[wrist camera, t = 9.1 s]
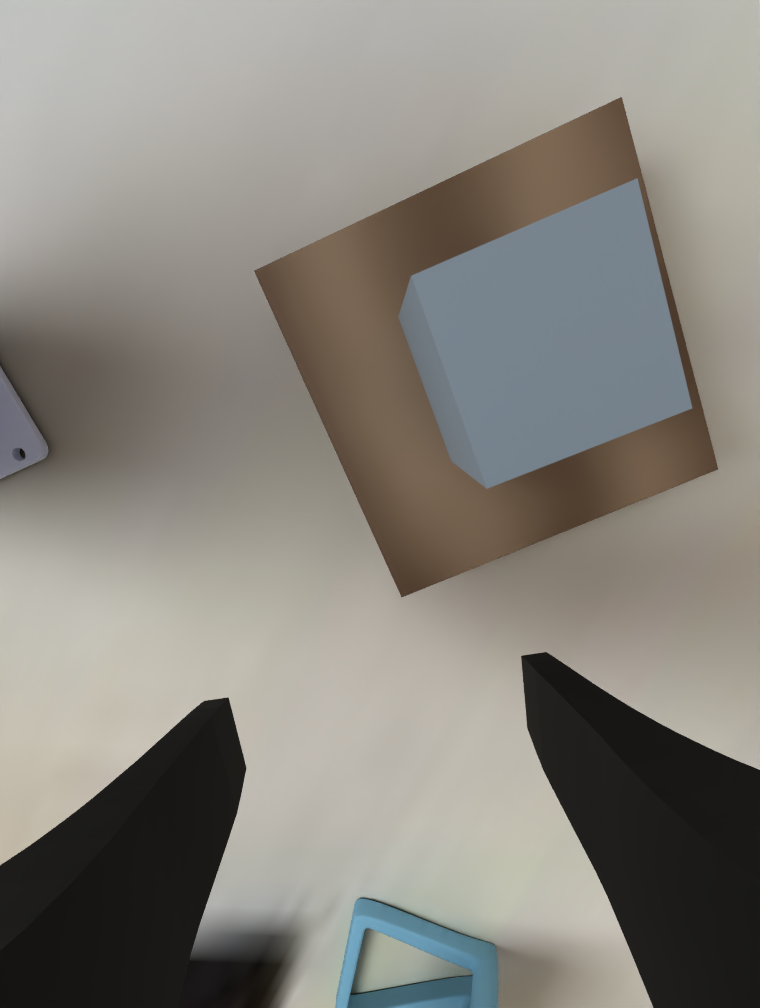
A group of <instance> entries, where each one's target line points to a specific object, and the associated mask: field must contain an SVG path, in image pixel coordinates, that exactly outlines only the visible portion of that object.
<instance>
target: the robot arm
mask: <svg viewBox="0 0 760 1008" xmlns="http://www.w3.org/2000/svg"><path fill="white" fill-rule="evenodd" d="M20 449H23V450H24V451H25V454H26V456H25V459H23V458H22V457H21V456H20V453H19V452H20ZM47 455H48V446H47V443H46V442H45V440H44V438H43V437H42V435H41V433H40V432H39V430H38V428H37V427H36V425H35V423H34V422H33V420H32V418H31V417H30V415H29V413H28V412H27V410H26V408H25V407H24V405H23V403H22V402H21V400H20V398H19V397H18V395H17V393H16V392H15V390H14V388H13V387H12V385H11V383H10V382H9V380H8V378H7V377H6V375H5V373H4V372H3V370H2V368H1V367H0V479H2V478H4V477H6V476H8V475H11V474H13V473H15V472H17V471H19V470H21V469H24V468H26V467H28V466H30V465H32V464H34V463H37V462H39V461H41V460H43V459H44V458H46V457H47ZM521 658H522V670H523V682H524V693H525V705H526V717H527V728H528V731H529V734H530V736H531V739H532V742H533V744H534V747H535V750H536V752H537V755H538V758H539V760H540V763H541V765H542V768H543V770H544V772H545V774H546V776H547V778H548V780H549V782H550V784H551V786H552V788H553V790H554V792H555V794H556V796H557V798H558V800H559V802H560V804H561V806H562V807H563V809H564V811H565V813H566V815H567V817H568V819H569V821H570V823H571V825H572V827H573V829H574V831H575V833H576V834H577V836H578V838H579V840H580V842H581V844H582V846H583V848H584V850H585V852H586V854H587V856H588V858H589V859H590V861H591V863H592V865H593V867H594V869H595V871H596V873H597V875H598V877H599V879H600V882H601V884H602V886H603V888H604V890H605V892H606V894H607V896H608V899H609V901H610V903H611V906H612V908H613V910H614V913H615V915H616V918H617V920H618V922H619V925H620V927H621V930H622V932H623V934H624V937H625V939H626V941H627V944H628V946H629V949H630V951H631V953H632V956H633V958H634V961H635V963H636V966H637V968H638V971H639V973H640V975H641V978H642V980H643V983H644V985H645V988H646V990H647V993H648V995H649V998H650V1000H651V1003H652V1005H653V1008H760V770H759V769H756V768H754V767H751V766H749V765H746V764H744V763H741V762H739V761H736V760H734V759H732V758H730V757H727V756H725V755H723V754H720V753H718V752H716V751H714V750H712V749H710V748H708V747H705V746H703V745H701V744H699V743H697V742H695V741H693V740H691V739H689V738H687V737H685V736H683V735H681V734H679V733H677V732H675V731H673V730H671V729H669V728H667V727H665V726H663V725H661V724H660V723H658V722H656V721H654V720H652V719H651V718H649V717H647V716H645V715H644V714H642V713H640V712H638V711H637V710H635V709H633V708H631V707H630V706H628V705H626V704H625V703H623V702H621V701H620V700H618V699H617V698H615V697H613V696H612V695H610V694H609V693H607V692H605V691H604V690H602V689H601V688H599V687H598V686H596V685H595V684H593V683H592V682H590V681H589V680H587V679H586V678H584V677H583V676H581V675H580V674H578V673H577V672H575V671H574V670H572V669H571V668H569V667H568V666H566V665H565V664H563V663H562V662H561V661H559V660H558V659H556V658H555V657H553V656H552V655H550V654H548V653H547V652H544V653H537V654H530V655H523V656H521ZM245 772H246V765H245V761H244V757H243V753H242V749H241V745H240V741H239V737H238V733H237V729H236V725H235V721H234V717H233V713H232V709H231V706H230V702H229V698H222V699H215V700H208V701H204V702H202V703H201V704H200V705H199V706H197V707H196V708H195V709H194V710H193V711H191V712H190V713H189V714H188V715H187V716H186V717H185V718H183V719H182V720H181V721H180V722H179V723H178V724H177V725H176V726H175V727H174V728H172V729H171V730H170V731H169V732H168V733H167V734H166V735H165V736H164V737H163V738H161V739H160V740H159V741H158V742H157V743H156V744H155V745H154V746H153V747H152V748H150V749H149V750H148V751H147V752H146V753H145V754H144V755H143V756H142V757H140V758H139V759H138V760H137V761H136V762H135V763H134V764H133V765H131V766H130V767H129V768H128V769H127V770H126V771H124V772H123V773H122V774H121V775H120V776H118V777H117V778H116V779H115V780H114V781H112V782H111V783H110V784H109V785H108V786H107V787H105V788H104V789H103V790H102V791H101V792H99V793H98V794H97V795H96V796H95V797H94V798H92V799H91V800H90V801H89V802H87V803H86V804H85V805H84V806H82V807H81V808H80V809H79V810H77V811H76V812H75V813H73V814H72V815H71V816H70V817H68V818H67V819H66V820H64V821H63V822H62V823H60V824H59V825H57V826H56V827H55V828H53V829H52V830H51V831H49V832H48V833H47V834H45V835H44V836H43V837H41V838H40V839H38V840H37V841H36V842H34V843H33V844H31V845H30V846H29V847H27V848H26V849H24V850H23V851H21V852H20V853H18V854H17V855H15V856H14V857H12V858H11V859H9V860H8V861H6V862H5V863H3V864H2V865H0V1008H177V1006H178V1002H179V998H180V994H181V990H182V986H183V982H184V978H185V974H186V970H187V966H188V962H189V958H190V955H191V951H192V948H193V944H194V941H195V938H196V934H197V931H198V928H199V925H200V922H201V919H202V916H203V913H204V910H205V907H206V904H207V901H208V898H209V895H210V892H211V889H212V886H213V883H214V880H215V877H216V874H217V871H218V869H219V866H220V863H221V860H222V857H223V854H224V851H225V848H226V845H227V842H228V839H229V836H230V833H231V830H232V827H233V824H234V820H235V817H236V814H237V810H238V806H239V801H240V797H241V792H242V787H243V782H244V777H245Z"/></svg>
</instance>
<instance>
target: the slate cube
mask: <svg viewBox="0 0 760 1008" xmlns="http://www.w3.org/2000/svg"><path fill="white" fill-rule="evenodd" d="M398 318H399V321H400V323H401V326H402V329H403V332H404V334H405V337H406V340H407V342H408V345H409V348H410V351H411V353H412V356H413V359H414V361H415V364H416V367H417V370H418V372H419V375H420V378H421V380H422V383H423V386H424V389H425V391H426V394H427V397H428V400H429V402H430V405H431V408H432V410H433V413H434V416H435V419H436V421H437V424H438V427H439V429H440V432H441V435H442V438H443V440H444V443H445V446H446V448H447V451H448V454H449V457H450V459H451V461H452V462H453V463H454V464H456V465H457V466H458V467H459V468H461V469H462V470H463V471H465V472H466V473H467V474H468V475H470V476H471V477H472V478H473V479H475V480H476V481H477V482H479V483H480V484H481V485H482V486H484V487H485V488H486V489H488V488H490V487H493V486H495V485H498V484H500V483H503V482H505V481H508V480H511V479H513V478H516V477H518V476H521V475H523V474H526V473H528V472H531V471H534V470H536V469H539V468H541V467H544V466H546V465H549V464H551V463H554V462H557V461H559V460H562V459H564V458H567V457H569V456H572V455H574V454H577V453H580V452H582V451H585V450H587V449H590V448H592V447H595V446H597V445H600V444H603V443H605V442H608V441H610V440H613V439H615V438H618V437H620V436H623V435H626V434H628V433H631V432H633V431H636V430H638V429H641V428H643V427H646V426H648V425H651V424H654V423H656V422H659V421H661V420H664V419H666V418H669V417H671V416H674V415H677V414H679V413H682V412H684V411H687V410H689V409H692V404H691V400H690V396H689V392H688V388H687V383H686V379H685V375H684V371H683V367H682V362H681V358H680V354H679V350H678V346H677V342H676V337H675V333H674V329H673V325H672V321H671V316H670V312H669V308H668V304H667V300H666V295H665V291H664V287H663V283H662V279H661V275H660V270H659V266H658V262H657V258H656V254H655V249H654V245H653V241H652V237H651V233H650V229H649V224H648V220H647V216H646V212H645V208H644V203H643V199H642V195H641V191H640V187H639V182H638V178H637V179H634V180H632V181H630V182H627V183H625V184H623V185H620V186H618V187H616V188H613V189H611V190H609V191H606V192H604V193H602V194H599V195H597V196H595V197H592V198H590V199H588V200H586V201H583V202H581V203H579V204H576V205H574V206H572V207H569V208H567V209H565V210H562V211H560V212H558V213H555V214H553V215H551V216H548V217H546V218H544V219H541V220H539V221H537V222H535V223H532V224H530V225H528V226H525V227H523V228H521V229H518V230H516V231H514V232H511V233H509V234H507V235H504V236H502V237H500V238H497V239H495V240H493V241H491V242H488V243H486V244H484V245H481V246H479V247H477V248H474V249H472V250H470V251H467V252H465V253H463V254H460V255H458V256H456V257H453V258H451V259H449V260H446V261H444V262H442V263H440V264H437V265H435V266H433V267H430V268H428V269H426V270H423V271H421V272H419V273H416V274H414V275H412V276H411V278H410V281H409V284H408V287H407V290H406V294H405V297H404V300H403V303H402V307H401V310H400V313H399V316H398Z"/></svg>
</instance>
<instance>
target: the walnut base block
mask: <svg viewBox="0 0 760 1008" xmlns="http://www.w3.org/2000/svg"><path fill="white" fill-rule="evenodd" d="M637 178H638V182H639V187H640V191H641V195H642V199H643V203H644V208H645V212H646V216H647V220H648V224H649V229H650V233H651V237H652V241H653V245H654V249H655V254H656V258H657V262H658V266H659V270H660V275H661V279H662V283H663V287H664V291H665V295H666V300H667V304H668V308H669V312H670V316H671V321H672V325H673V329H674V333H675V337H676V342H677V346H678V350H679V354H680V358H681V362H682V367H683V371H684V375H685V379H686V383H687V388H688V392H689V396H690V400H691V404H692V409H689V410H687V411H684V412H682V413H679V414H677V415H674V416H671V417H669V418H666V419H664V420H661V421H659V422H656V423H654V424H651V425H648V426H646V427H643V428H641V429H638V430H636V431H633V432H631V433H628V434H626V435H623V436H620V437H618V438H615V439H613V440H610V441H608V442H605V443H603V444H600V445H597V446H595V447H592V448H590V449H587V450H585V451H582V452H580V453H577V454H574V455H572V456H569V457H567V458H564V459H562V460H559V461H557V462H554V463H551V464H549V465H546V466H544V467H541V468H539V469H536V470H534V471H531V472H528V473H526V474H523V475H521V476H518V477H516V478H513V479H511V480H508V481H505V482H503V483H500V484H498V485H495V486H493V487H490V488H488V489H486V488H485V487H484V486H482V485H481V484H480V483H479V482H477V481H476V480H475V479H473V478H472V477H471V476H470V475H468V474H467V473H466V472H465V471H463V470H462V469H461V468H459V467H458V466H457V465H456V464H454V463H453V462H452V461H451V459H450V457H449V454H448V451H447V448H446V446H445V443H444V440H443V438H442V435H441V432H440V429H439V427H438V424H437V421H436V419H435V416H434V413H433V410H432V408H431V405H430V402H429V400H428V397H427V394H426V391H425V389H424V386H423V383H422V380H421V378H420V375H419V372H418V370H417V367H416V364H415V361H414V359H413V356H412V353H411V351H410V348H409V345H408V342H407V340H406V337H405V334H404V332H403V329H402V326H401V323H400V321H399V318H398V316H399V313H400V310H401V307H402V303H403V300H404V297H405V294H406V290H407V287H408V284H409V281H410V278H411V276H412V275H414V274H416V273H419V272H421V271H423V270H426V269H428V268H430V267H433V266H435V265H437V264H440V263H442V262H444V261H446V260H449V259H451V258H453V257H456V256H458V255H460V254H463V253H465V252H467V251H470V250H472V249H474V248H477V247H479V246H481V245H484V244H486V243H488V242H491V241H493V240H495V239H497V238H500V237H502V236H504V235H507V234H509V233H511V232H514V231H516V230H518V229H521V228H523V227H525V226H528V225H530V224H532V223H535V222H537V221H539V220H541V219H544V218H546V217H548V216H551V215H553V214H555V213H558V212H560V211H562V210H565V209H567V208H569V207H572V206H574V205H576V204H579V203H581V202H583V201H586V200H588V199H590V198H592V197H595V196H597V195H599V194H602V193H604V192H606V191H609V190H611V189H613V188H616V187H618V186H620V185H623V184H625V183H627V182H630V181H632V180H634V179H637ZM254 272H255V274H256V276H257V278H258V280H259V283H260V285H261V287H262V289H263V291H264V294H265V296H266V298H267V300H268V303H269V305H270V307H271V309H272V311H273V314H274V316H275V318H276V320H277V322H278V325H279V327H280V329H281V331H282V333H283V336H284V338H285V340H286V342H287V345H288V347H289V349H290V351H291V353H292V356H293V358H294V360H295V362H296V364H297V367H298V369H299V371H300V373H301V376H302V378H303V380H304V382H305V384H306V387H307V389H308V391H309V393H310V395H311V398H312V400H313V402H314V404H315V407H316V409H317V411H318V413H319V415H320V418H321V420H322V422H323V424H324V426H325V429H326V431H327V433H328V435H329V437H330V440H331V442H332V444H333V446H334V449H335V451H336V453H337V455H338V457H339V460H340V462H341V464H342V466H343V468H344V471H345V473H346V475H347V477H348V480H349V482H350V484H351V486H352V488H353V491H354V493H355V495H356V497H357V499H358V502H359V504H360V506H361V508H362V510H363V513H364V515H365V517H366V519H367V522H368V524H369V526H370V528H371V530H372V533H373V535H374V537H375V539H376V541H377V544H378V546H379V548H380V550H381V553H382V555H383V557H384V559H385V561H386V564H387V566H388V568H389V570H390V572H391V575H392V577H393V579H394V581H395V584H396V586H397V588H398V590H399V592H400V595H401V597H404V596H406V595H409V594H411V593H413V592H416V591H418V590H421V589H423V588H426V587H428V586H431V585H433V584H436V583H438V582H441V581H443V580H446V579H448V578H451V577H453V576H455V575H458V574H460V573H463V572H465V571H468V570H470V569H473V568H475V567H478V566H480V565H483V564H485V563H488V562H490V561H493V560H495V559H497V558H500V557H502V556H505V555H507V554H510V553H512V552H515V551H517V550H520V549H522V548H525V547H527V546H530V545H532V544H535V543H537V542H539V541H542V540H544V539H547V538H549V537H552V536H554V535H557V534H559V533H562V532H564V531H567V530H569V529H572V528H574V527H577V526H579V525H581V524H584V523H586V522H589V521H591V520H594V519H596V518H599V517H601V516H604V515H606V514H609V513H611V512H614V511H616V510H618V509H621V508H623V507H626V506H628V505H631V504H633V503H636V502H638V501H641V500H643V499H646V498H648V497H651V496H653V495H656V494H658V493H660V492H663V491H665V490H668V489H670V488H673V487H675V486H678V485H680V484H683V483H685V482H688V481H690V480H693V479H695V478H698V477H700V476H702V475H705V474H707V473H710V472H712V471H715V470H717V469H718V467H717V463H716V459H715V455H714V451H713V448H712V444H711V440H710V436H709V432H708V428H707V424H706V421H705V417H704V413H703V409H702V405H701V401H700V397H699V394H698V390H697V386H696V382H695V378H694V374H693V370H692V367H691V363H690V359H689V355H688V351H687V347H686V343H685V340H684V336H683V332H682V328H681V324H680V320H679V316H678V313H677V309H676V305H675V301H674V297H673V293H672V289H671V286H670V282H669V278H668V274H667V270H666V266H665V262H664V259H663V255H662V251H661V247H660V243H659V239H658V235H657V232H656V228H655V224H654V220H653V216H652V212H651V208H650V205H649V201H648V197H647V193H646V189H645V185H644V181H643V178H642V174H641V170H640V166H639V162H638V158H637V154H636V151H635V147H634V143H633V139H632V135H631V131H630V127H629V124H628V120H627V116H626V112H625V108H624V104H623V100H622V97H621V98H618V99H616V100H614V101H612V102H610V103H608V104H606V105H604V106H602V107H599V108H597V109H595V110H593V111H591V112H589V113H587V114H585V115H583V116H580V117H578V118H576V119H574V120H572V121H570V122H568V123H566V124H564V125H561V126H559V127H557V128H555V129H553V130H551V131H549V132H547V133H545V134H542V135H540V136H538V137H536V138H534V139H532V140H530V141H528V142H525V143H523V144H521V145H519V146H517V147H515V148H513V149H511V150H509V151H506V152H504V153H502V154H500V155H498V156H496V157H494V158H492V159H490V160H487V161H485V162H483V163H481V164H479V165H477V166H475V167H473V168H471V169H468V170H466V171H464V172H462V173H460V174H458V175H456V176H454V177H452V178H449V179H447V180H445V181H443V182H441V183H439V184H437V185H435V186H433V187H430V188H428V189H426V190H424V191H422V192H420V193H418V194H416V195H414V196H411V197H409V198H407V199H405V200H403V201H401V202H399V203H397V204H395V205H392V206H390V207H388V208H386V209H384V210H382V211H380V212H378V213H376V214H373V215H371V216H369V217H367V218H365V219H363V220H361V221H359V222H356V223H354V224H352V225H350V226H348V227H346V228H344V229H342V230H340V231H337V232H335V233H333V234H331V235H329V236H327V237H325V238H323V239H321V240H318V241H316V242H314V243H312V244H310V245H308V246H306V247H304V248H302V249H299V250H297V251H295V252H293V253H291V254H289V255H287V256H285V257H283V258H280V259H278V260H276V261H274V262H272V263H270V264H268V265H266V266H264V267H261V268H259V269H257V270H255V271H254Z"/></svg>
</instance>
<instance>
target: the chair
mask: <svg viewBox="0 0 760 1008" xmlns="http://www.w3.org/2000/svg"><path fill="white" fill-rule="evenodd" d="M366 928H370V929H373V930H376V931H378V932H381V933H383V934H385V935H388V936H390V937H392V938H395V939H397V940H400V941H402V942H404V943H407V944H409V945H411V946H414V947H416V948H418V949H420V950H423V951H425V952H427V953H430V954H432V955H434V956H437V957H439V958H441V959H444V960H446V961H449V962H451V963H453V964H456V965H458V966H461V967H463V968H466V969H468V970H471V971H472V973H473V976H462V977H454V978H447V979H441V980H435V981H429V982H423V983H418V984H412V985H407V986H401V987H396V988H391V989H385V990H380V991H374V992H368V993H363V994H356V995H350V993H351V989H352V984H353V980H354V976H355V971H356V967H357V962H358V958H359V954H360V949H361V945H362V941H363V936H364V932H365V930H366ZM335 1008H498V960H497V952H496V947H495V946H494V945H493V944H491V943H488V942H485V941H481V940H478V939H474V938H471V937H468V936H465V935H462V934H459V933H457V932H454V931H451V930H449V929H446V928H443V927H441V926H438V925H436V924H433V923H431V922H428V921H426V920H423V919H421V918H418V917H416V916H413V915H411V914H408V913H405V912H403V911H400V910H398V909H395V908H393V907H390V906H387V905H385V904H382V903H379V902H375V901H372V900H368V899H358V900H357V901H356V902H355V906H354V911H353V916H352V921H351V926H350V931H349V936H348V941H347V946H346V951H345V956H344V961H343V966H342V971H341V976H340V981H339V986H338V992H337V997H336V1007H335Z"/></svg>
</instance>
